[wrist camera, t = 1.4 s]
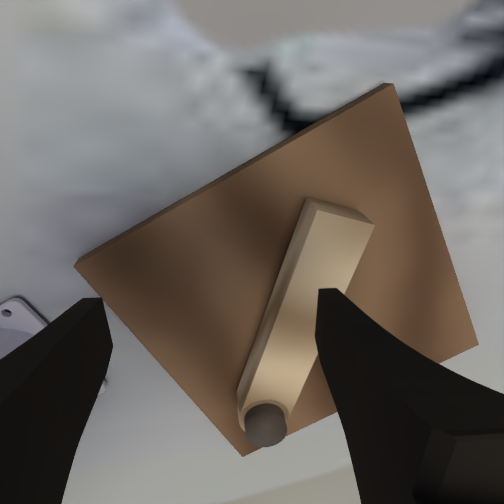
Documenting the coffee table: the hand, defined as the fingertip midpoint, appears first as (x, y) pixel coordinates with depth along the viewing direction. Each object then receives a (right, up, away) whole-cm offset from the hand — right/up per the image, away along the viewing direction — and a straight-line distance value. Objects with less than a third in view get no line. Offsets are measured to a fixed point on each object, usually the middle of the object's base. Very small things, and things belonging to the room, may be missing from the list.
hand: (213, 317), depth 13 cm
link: (+3, -2, +9) cm, 10 cm away
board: (+4, -1, +10) cm, 11 cm away
